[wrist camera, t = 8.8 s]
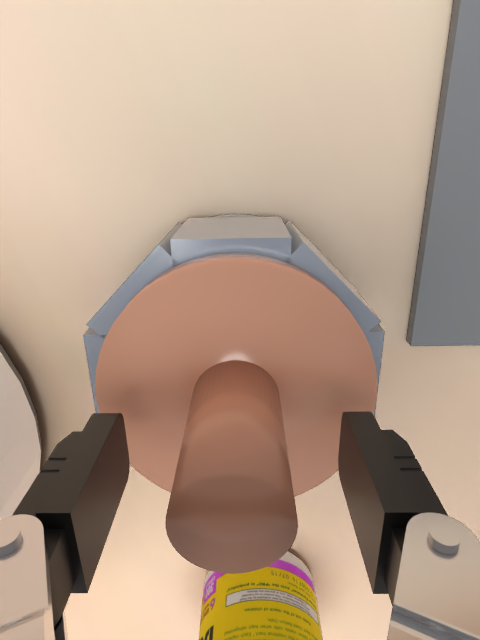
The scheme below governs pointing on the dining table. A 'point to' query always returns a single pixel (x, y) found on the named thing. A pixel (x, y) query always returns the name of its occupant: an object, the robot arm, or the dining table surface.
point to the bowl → (232, 238)
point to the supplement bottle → (261, 604)
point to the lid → (234, 398)
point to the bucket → (16, 438)
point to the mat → (452, 200)
